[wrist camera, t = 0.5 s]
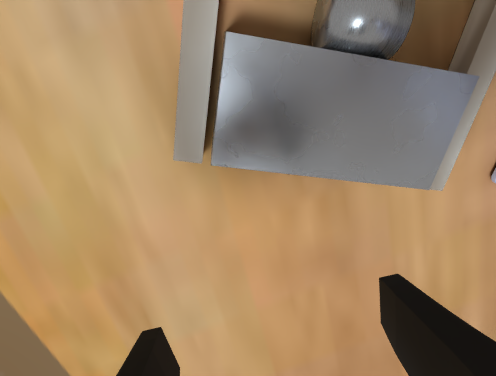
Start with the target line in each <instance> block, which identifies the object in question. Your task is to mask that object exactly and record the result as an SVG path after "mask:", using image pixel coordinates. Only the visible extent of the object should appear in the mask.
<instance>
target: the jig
mask: <svg viewBox="0 0 496 376" xmlns="http://www.w3.org/2000/svg"><path fill="white" fill-rule="evenodd" d="M218 4H219V0H184V4H183V19H182V35H181V50H180V66H179V81H178V97H177V112H176V127H175V143H174V158H173V160H175V161H184V162H193V163H202V158H203V149H204V139H205V130H206V120H207V110H208V101H209V91H210V81H211V72H212V62H213V53H214V43H215V33H216V24H217V14H218ZM448 71H453V72H458V73H464V74H470V75H475V76H480V77H479V79H478V81H477V83H476V86H475V88H474V90H473V92H472V95H471V97H470V99H469V102H468V104H467V106H466V108H465V111H464V113H463V115H462V117H461V120H460V122H459V124H458V126H457V129H456V131H455V133H454V135H453V138H452V140H451V142H450V145H449V147H448V149H447V151H446V154H445V156H444V158H443V160H442V163H441V165H440V167H439V169H438V172H437V174H436V176H435V178H434V181H433V183H432V185H431V188H430V189H431V190H440V191H442V190H443V188H444V186H445V184H446V181H447V179H448V177H449V175H450V172H451V170H452V168H453V166H454V163H455V161H456V159H457V157H458V154H459V152H460V150H461V148H462V145H463V143H464V141H465V139H466V137H467V134H468V132H469V130H470V128H471V125H472V123H473V121H474V119H475V116H476V114H477V112H478V110H479V107H480V105H481V103H482V101H483V98H484V96H485V94H486V92H487V89H488V87H489V85H490V83H491V80H492V78H493V76H494V74H495V71H496V0H475V2H474V5H473V7H472V10H471V12H470V15H469V18H468V20H467V23H466V25H465V28H464V31H463V33H462V36H461V38H460V41H459V43H458V46H457V49H456V51H455V54H454V56H453V59H452V61H451V64H450V67H449V69H448Z"/></svg>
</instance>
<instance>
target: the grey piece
mask: <svg viewBox="0 0 496 376" xmlns="http://www.w3.org/2000/svg"><path fill="white" fill-rule="evenodd" d="M414 10H415V0H318V1H317V4H316V8H315V12H314V17H313V23H312V31H311V43H312V47H311V46H306V45H300V44H295V43H289V42H283V41H278V40H272V39H266V38H261V37H255V36H249V35H244V34H238V33H232V32H227V31H226V32H225V35H224V43H223V52H222V61H221V70H220V78H219V87H218V96H217V105H216V113H215V122H214V131H213V140H212V152H211V165H214V166H222V167H231V168H240V169H249V170H258V171H267V172H275V173H284V174H293V175H302V176H311V177H319V178H328V179H337V180H346V181H355V182H363V183H372V184H381V185H390V186H399V187H408V188H416V189H425V190H430V188H431V185H432V183H433V181H434V178H435V176H436V174H437V172H438V169H439V167H440V165H441V163H442V160H443V158H444V156H445V154H446V151H447V149H448V147H449V145H450V142H451V140H452V138H453V135H454V133H455V131H456V129H457V126H458V124H459V122H460V120H461V117H462V115H463V113H464V111H465V108H466V106H467V104H468V102H469V99H470V97H471V95H472V92H473V90H474V88H475V86H476V83H477V81H478V79H479V77H480V76H475V75H470V74H464V73H458V72H453V71H447V70H441V69H436V68H430V67H424V66H419V65H413V64H408V63H402V62H396V61H391V60H388V59H390V58H391V57H392V56H393V55H394V54H395V53H396V52H397V51H398V49H399V48H400V46H401V45H402V43H403V41H404V40H405V38H406V36H407V33H408V31H409V28H410V26H411V23H412V19H413V15H414Z"/></svg>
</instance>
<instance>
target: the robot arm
mask: <svg viewBox="0 0 496 376" xmlns="http://www.w3.org/2000/svg"><path fill="white" fill-rule="evenodd" d="M491 179H492V181H493V182H494V183H496V168H495V170H494V172H493V174H492V177H491ZM379 286H380V312H381V324H382V326H383V328H384V330H385V333H386V335H387V337H388V339H389V341H390V343H391V345H392V347H393V349H394V351H395V353H396V355H397V357H398V359H399V360H400V362H401V364H402V365H403V367H404V368H405V370H406V372H407V373H408V375H409V376H496V342H495V341H494V340H492V339H491V338H489V337H487V336H486V335H484V334H483V333H481V332H480V331H478V330H477V329H475V328H474V327H472V326H471V325H469V324H468V323H466V322H465V321H463V320H462V319H460V318H459V317H457V316H456V315H455V314H453V313H452V312H450V311H449V310H447V309H446V308H444V307H443V306H442V305H440V304H439V303H437V302H436V301H435V300H433V299H432V298H431V297H429V296H428V295H426V294H425V293H424V292H422V291H421V290H420V289H418V288H417V287H416V286H414V285H413V284H412V283H410V282H409V281H408V280H406V279H405V278H403V277H402V276H401V275H399V274H394V275H390V276H385V277H381V278H379ZM116 376H180V367H179V365H178V363H177V360H176V358H175V356H174V354H173V352H172V350H171V348H170V345H169V343H168V341H167V339H166V337H165V335H164V333H163V330H162V328H161V327H159V328H154V329H150V330H146V331H142V333H141V334H140V336H139V338H138V339H137V341H136V343H135V345H134V346H133V348H132V350H131V351H130V353H129V355H128V357H127V358H126V360H125V362H124V363H123V365H122V367H121V369H120V370H119V372H118V374H117V375H116Z"/></svg>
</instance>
